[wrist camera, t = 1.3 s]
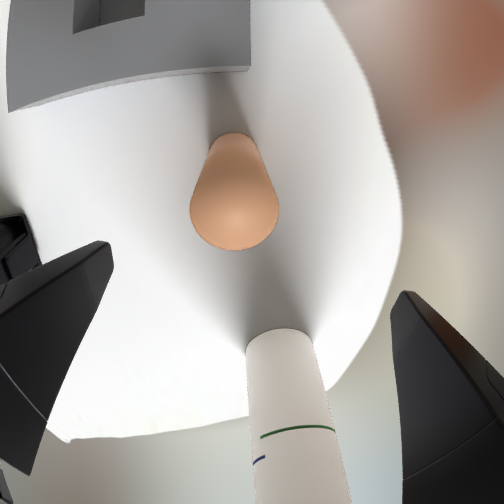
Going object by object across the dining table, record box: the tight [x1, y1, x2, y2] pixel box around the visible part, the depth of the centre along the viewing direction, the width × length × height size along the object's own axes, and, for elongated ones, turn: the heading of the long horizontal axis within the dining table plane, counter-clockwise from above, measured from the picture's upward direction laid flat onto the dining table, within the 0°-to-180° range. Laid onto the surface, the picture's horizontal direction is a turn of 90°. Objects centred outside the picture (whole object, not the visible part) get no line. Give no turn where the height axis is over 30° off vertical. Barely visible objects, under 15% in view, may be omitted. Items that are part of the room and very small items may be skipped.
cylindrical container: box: [246, 328, 352, 504], centre depth 19 cm, size 7×7×25 cm
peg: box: [190, 132, 279, 250], centre depth 16 cm, size 3×3×10 cm
